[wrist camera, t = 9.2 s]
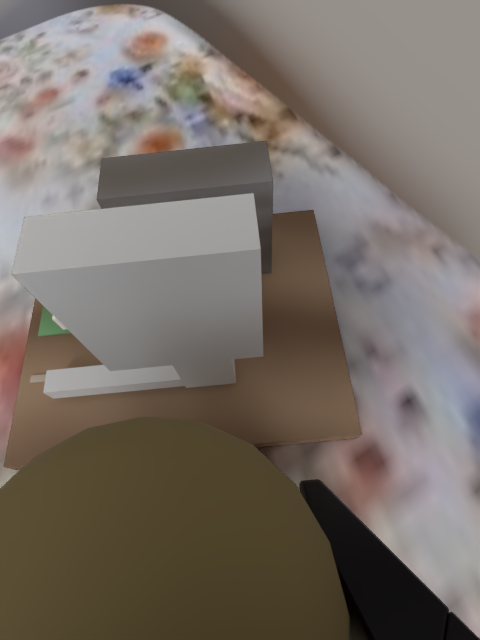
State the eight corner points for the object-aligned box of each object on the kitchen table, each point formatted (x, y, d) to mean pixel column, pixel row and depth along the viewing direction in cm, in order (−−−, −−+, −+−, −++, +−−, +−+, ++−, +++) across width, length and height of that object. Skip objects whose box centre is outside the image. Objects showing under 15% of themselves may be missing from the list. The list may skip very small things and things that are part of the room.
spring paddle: (264, 410, 15) (260, 248, 6) (49, 431, 15) (-251, 300, 6) (258, 357, 16) (248, 153, 7) (57, 376, 16) (-193, 199, 7)
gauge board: (357, 438, 15) (408, 388, 10) (15, 469, 16) (-124, 438, 10) (311, 220, 21) (328, 106, 15) (54, 247, 21) (-25, 145, 15)
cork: (113, 503, 14) (-208, 461, 5) (268, 442, 15) (272, 291, 5) (156, 714, 12) (-396, 1677, 2) (341, 628, 12) (626, 1019, 3)
